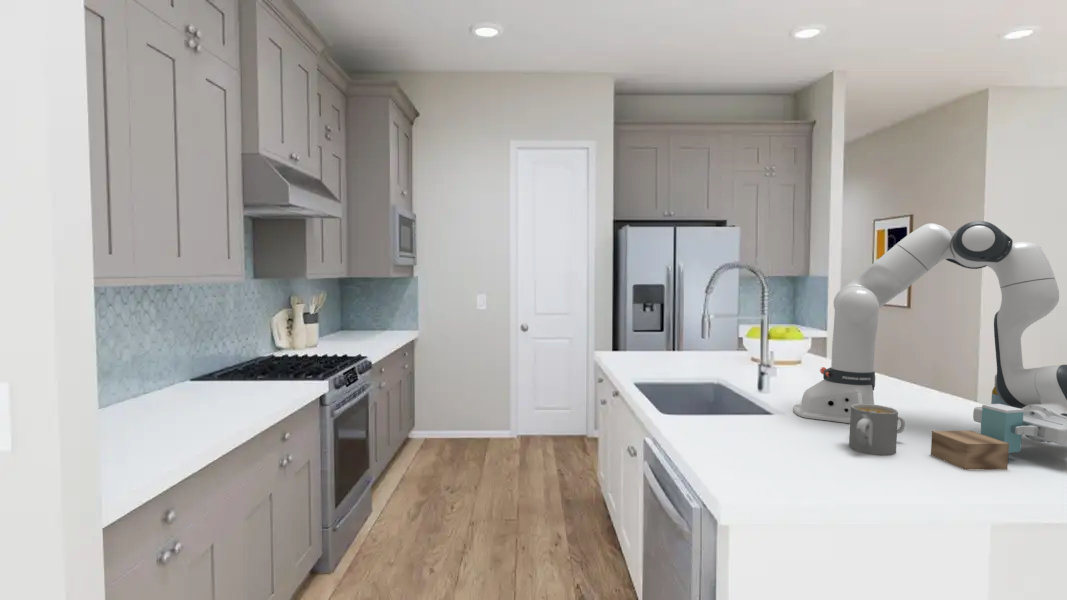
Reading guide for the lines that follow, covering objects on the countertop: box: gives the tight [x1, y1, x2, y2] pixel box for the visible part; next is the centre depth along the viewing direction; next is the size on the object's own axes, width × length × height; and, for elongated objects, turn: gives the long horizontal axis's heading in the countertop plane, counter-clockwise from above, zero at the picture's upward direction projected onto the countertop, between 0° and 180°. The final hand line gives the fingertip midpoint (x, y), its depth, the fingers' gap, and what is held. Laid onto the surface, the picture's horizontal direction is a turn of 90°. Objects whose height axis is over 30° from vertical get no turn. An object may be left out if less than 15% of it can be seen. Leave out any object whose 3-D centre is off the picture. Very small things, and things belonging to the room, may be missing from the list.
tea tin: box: [979, 403, 1024, 454], centre depth 136 cm, size 6×6×10 cm
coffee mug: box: [848, 404, 899, 456], centre depth 140 cm, size 13×10×10 cm
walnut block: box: [930, 430, 1009, 471], centre depth 133 cm, size 10×10×6 cm
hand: (998, 425), depth 136 cm, fingers closed on tea tin, 5 cm apart
